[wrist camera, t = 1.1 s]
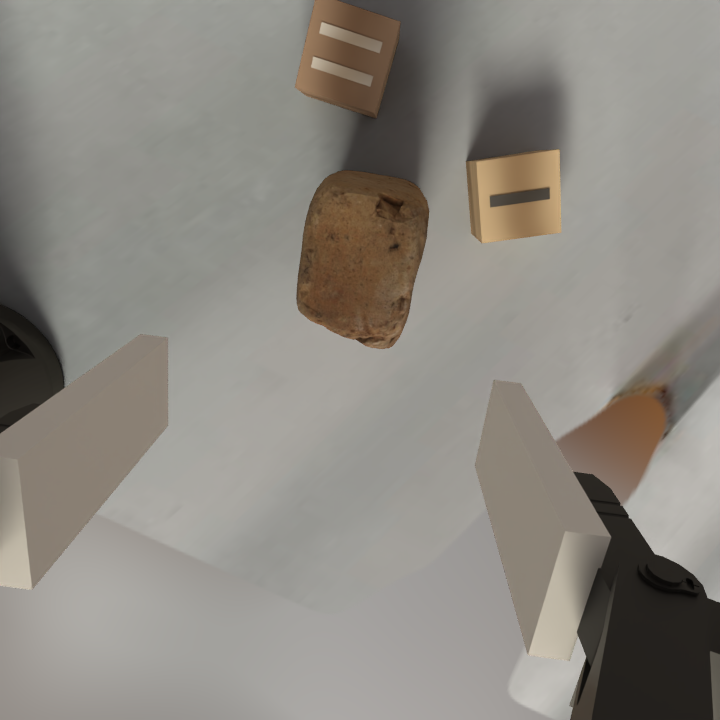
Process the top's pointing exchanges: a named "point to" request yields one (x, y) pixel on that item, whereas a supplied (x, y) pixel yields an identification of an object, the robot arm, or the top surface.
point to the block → (362, 255)
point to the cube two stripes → (347, 56)
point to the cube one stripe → (514, 195)
